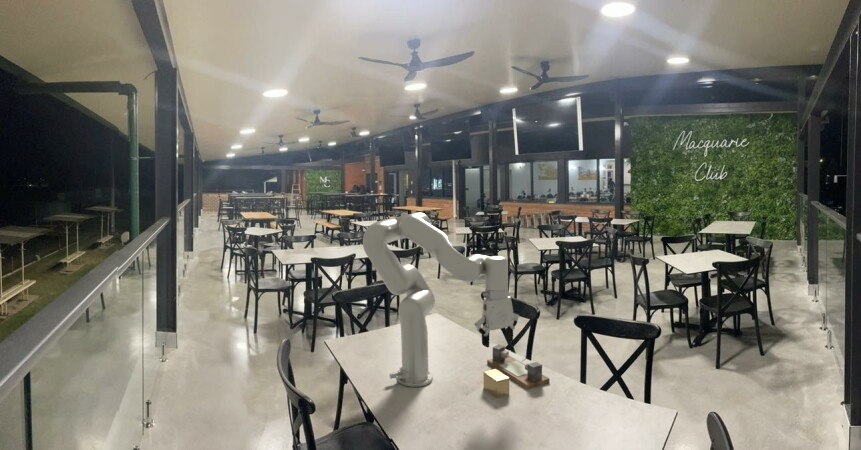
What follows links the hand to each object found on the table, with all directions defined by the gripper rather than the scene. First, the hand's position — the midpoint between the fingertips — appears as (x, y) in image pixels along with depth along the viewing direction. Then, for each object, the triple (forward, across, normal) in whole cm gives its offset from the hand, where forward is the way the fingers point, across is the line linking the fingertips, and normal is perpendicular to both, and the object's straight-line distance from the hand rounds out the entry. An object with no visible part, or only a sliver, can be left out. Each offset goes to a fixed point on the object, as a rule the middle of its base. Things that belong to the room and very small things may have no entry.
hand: (497, 343), depth 159 cm
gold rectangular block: (+17, -1, +1) cm, 17 cm away
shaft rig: (+17, +14, +9) cm, 24 cm away
